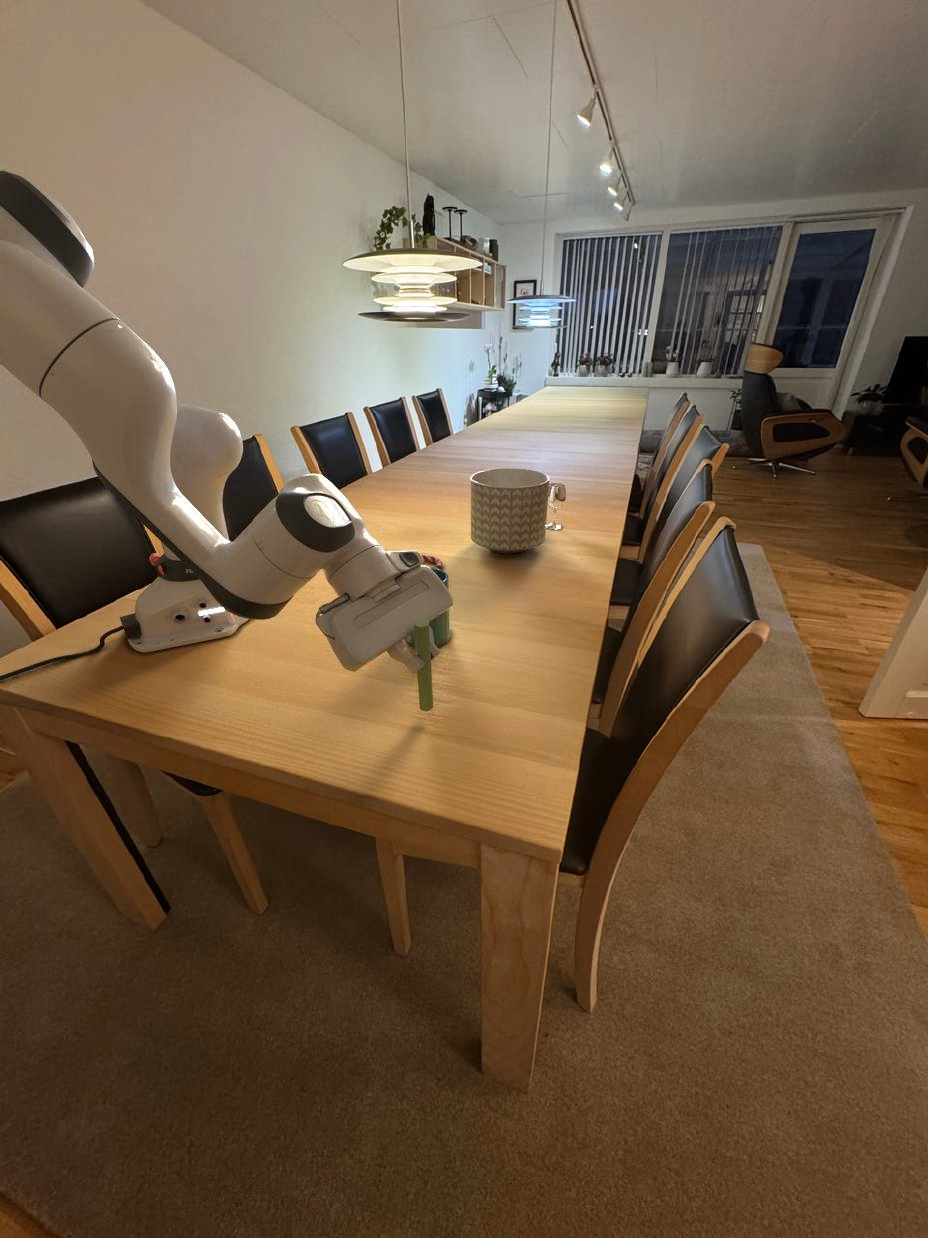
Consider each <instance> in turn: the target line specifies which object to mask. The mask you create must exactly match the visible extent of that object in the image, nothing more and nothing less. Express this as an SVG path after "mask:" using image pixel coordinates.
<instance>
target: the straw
mask: <svg viewBox="0 0 928 1238" xmlns="http://www.w3.org/2000/svg"><path fill="white" fill-rule="evenodd" d="M414 633H415V646H414V648H415V656H416V655H418V654H419V656H420V657H421V659H422V660H423V661H424V662H425V666H424V667H422V668H421V669H420V670H418V671H417V672H416V675H417V687H418V689H417V691H418V703H419V704H418V705H419V709H420V710H421V711H422V712H429V711H431V710H433V709H434V693H433V692H434V691H433V690H434V689H433V673H432V671H433V670H432V660H431V650H430V631H429V622H428V621H427V620H417V621H415V622H414Z"/></svg>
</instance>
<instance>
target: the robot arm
mask: <svg viewBox="0 0 928 1238" xmlns="http://www.w3.org/2000/svg"><path fill="white" fill-rule="evenodd" d="M94 259H95V258H94V253H93V248H92V247H91V245H90V244H89V242H88V241H87V239H86V237H85V235H84V234H83V232H82V230H81V228H80V227H79V226H78V224H77V223H76V221H75V219H74V218H73V217H72V216H71V215H70V214H69V212H68V211H67V210H66V209H65V208H64V207H63V206H62V205H61V204H60V203H59V202H58V201H57V200H55V198H53V197H52V196H51V195H49V194H48V193H47V192H45V191H44V190H42V189H41V188H39V187H38V186H36V185H34V184H32V183H31V182H30V181H29V180H27V179H26V178H25V177H23V176H21V175H19V174H15V173H13V172H9V171H6V170H0V366H2V367H3V368H4V369H6V370H7V372H9V373H10V374H11V375H13V377H15V378H16V379H17V380H18V381H19V382H20V383H22V384H23V385H24V386H25V387H26V388H28V390H30V391H31V392H32V393H34V395H36V396H37V397H38V398H39V399H41V400H42V401H43V402H45V403H46V404H47V405H49V406H50V407H51V408H52V409H53V410H54V411H55V412H56V413H57V414H59V416H60V417H61V418H62V419H63V420H64V421H65V422H66V423H67V424H68V425H69V427H70V428H71V429H72V430H73V432H74V433H75V434H76V435H77V436H78V438H79V440H80V441H81V442H82V444H83V445H84V447H85V449H86V451H87V452H88V454H89V456H90V458H91V462H92V467H93V470H94V472H95V474H96V476H97V478H98V479H99V481H101V483H102V484H103V485H104V486H105V488H106V489H107V490H108V491H109V492H110V493H111V494H112V495H113V496H114V497H115V498H116V499H117V500H118V501H119V502H120V504H121V505H123V506H124V507H125V509H127V510H128V512H130V513H131V514H132V516H134V517H135V518H136V519H137V520H138V521H139V522H140V523H141V524H142V525H143V526H144V527H145V528H146V529H148V530H149V531H150V533H152V534H153V535H154V537H156V538H157V539H158V541H160V543H161V547H162V550H163V554H162V555H161V554H159V553H157V552H154V553H151V554H150V555H149V557H148V558H149V562H150V564H151V565H152V566H153V567H155V570H156V573H157V575H158V576H157V577H156V578H155V579H154V580H153V581H152V582H151V583H150V584H149V585H148V586H147V587H146V588H145V589H144V590H143V591H142V592H141V593H140V594H139V595H138V597H137V598H136V601H135V607H134V613H130V614H126V615H122V616H119V620H120V623H121V625H120V626H118V627H115V628H113V629H110V630H108V631H106V632H105V633H103V634H102V635H101V636H100V638H99V644H98V645H97V646H96V647H95V648H92V649H90V650H88V651H84V652H80V653H71V654H66V655H59V656H55V657H52V658H48V659H44V660H42V661H38V662H36V663H33V664H30V665H28V666H24V667H21V668H19V669H16V670H13V671H10V672H7V673H5V674H1V675H0V681H4V680H6V679H9V678H12V677H15V676H17V675H20V674H23V673H26V672H29V671H32V670H34V669H38V668H40V667H43V666H47V665H50V664H52V663H55V662H60V661H64V660H65V661H66V660H70V659H76V658H80V657H83V656H87V655H90V654H94V653H96V652H99V651H101V650H102V649H103V648H104V647H105V645H106V642H105V641H106V639H107V638H108V637H109V636H111V635H114V634H116V633H119V632H121V631H124V633H125V636H126V639H127V641H128V644H129V646H130V647H131V648H132V649H133V650H135V651H137V652H140V653H143V654H145V653H151V652H156V651H157V652H158V651H161V650H165V649H170V648H175V647H181V646H186V645H191V644H197V643H200V642H205V641H206V642H207V641H210V640H216V639H222V638H226V637H231V636H232V635H233V634H235V633H236V631H237V630H238V628H239V627H241V626H243V624H245V623H246V622H248V621H250V620H255V621H263V620H264V621H265V620H270V619H272V618H275V617H277V616H278V615H279V614H280V612H282V610H283V609H284V608H285V607H286V606H287V604H289V603H290V601H291V600H292V599H293V598H294V597H295V595H296V594H297V593H298V592H299V591H300V590H301V589H302V588H303V587H304V586H306V585H307V584H308V583H309V582H310V581H311V580H312V579H314V577H316V576H317V574H318V573H319V572H320V571H321V570H322V572H323V574H324V577H325V579H326V581H327V583H328V584H329V585H330V587H331V588H332V589H333V591H334V592H335V593H336V595H337V597H336V598H334V599H332V600H331V601H329V602H326V603H323V604H322V605H320V606H319V607H318V610H317V612H316V614H315V624H316V626H317V628H318V629H319V630H320V632H321V633H322V635H324V637H326V639H327V642H328V643H329V646H330V648H331V650H332V651H333V653H334V655H335V657H336V658H337V660H338V661H339V663H340V664H341V666H342V668H344V669H345V670H347V671H350V672H352V673H355V672H357V671H359V670H360V669H361V668H363V667H364V666H366V665H368V664H369V663H371V662H372V661H373V660H375V659H376V658H378V657H379V656H381V655H382V654H384V653H385V652H387V654H388V655H389V656H390V658H391V659H393V660H395V661H397V662H399V663H401V664H403V665H405V666H406V667H407V669H408V670H409V671H410V672H411V674H415V673H416V674H417V671H418V670H420V669H421V668H422V667H424V666H425V662H424V661H423V660H422V659H421V657H420V656H419V654H418V655H416V654H415V655H413V654H412V653H410V652H408V651H406V650H405V648H406V645H405V643H404V642H403V641H404V640H405V639H406V637H408V636H409V635H411V634H412V633H414V622H415V621H417V620H427V621H428V622H430V621H432V620H433V619H435V618H436V617H438V616H439V615H441V614H442V613H444V612H445V611H446V610H448V609H449V610H450V609H451V607H452V606H453V605H454V601H453V596H452V593H451V592H450V589H449V590H448V589H447V588H446V586H445V585H444V583H443V582H442V581H441V580H440V578H439V577H438V576H437V575H436V573H435V572H434V571H433V570H432V569H431V568H429V567H430V566H427V565H424V564H423V563H424V562H425V560H424V558H423V557H422V555H423V554H421V553H420V551H418V550H415V549H413V550H386V549H384V547H383V545H382V544H381V543H380V542H379V541H377V540H376V539H375V538H374V537H373V536H372V535H371V534H370V533H369V530H368V529H367V526H366V523H365V521H364V519H363V518H362V516H361V515H360V514H359V512H358V511H357V510H356V508H355V507H354V506H353V505H352V504H351V502H350V501H349V500H348V499H347V497H345V495H344V494H343V493H342V492H341V491H340V490H339V489H338V488H337V487H336V486H335V485H334V484H333V483H332V482H331V481H330V480H328V479H327V477H325V476H324V475H321V474H317V473H307V474H303V475H300V476H297V477H295V478H293V479H291V480H289V481H288V482H287V483H286V484H285V485H284V486H282V488H281V489H280V491H279V493H278V495H277V496H276V497H273V499H271V500H270V501H269V502H268V504H266V506H265V507H264V508H263V509H261V511H260V512H259V513H257V515H256V516H255V517H254V518H253V520H252V521H251V523H249V524H248V525H247V527H246V528H244V530H242V531H241V533H240V534H239V535H238V536H237V537H236V538H235V539H234V540H233V541H231V540H230V538H229V533H228V528H227V524H226V519H225V514H224V507H223V505H224V504H223V496H224V490H225V485H226V482H227V480H228V478H229V476H230V475H231V474H232V473H233V471H235V469H237V467H238V466H239V464H240V462H241V460H242V458H243V453H244V441H243V438H242V434H241V432H240V429H239V428H238V426H237V424H236V423H235V422H234V420H233V419H232V418H231V417H230V416H229V415H227V414H225V413H223V412H219V411H216V410H213V409H209V408H205V407H202V406H197V405H178V402H177V393H176V388H175V384H174V381H173V378H172V376H171V373H170V371H169V369H168V367H167V366H166V364H165V363H164V362H163V360H162V359H161V358H160V357H159V355H158V354H157V353H156V352H155V351H154V350H153V348H151V346H150V345H148V344H147V343H146V341H144V340H143V339H142V338H141V337H140V336H139V335H138V334H137V333H136V332H135V331H134V330H132V329H131V328H130V327H129V326H128V325H127V324H126V323H125V322H123V321H122V320H121V319H120V318H119V317H118V316H117V315H116V314H114V313H113V312H112V311H111V310H110V309H109V308H108V307H107V306H105V305H104V304H103V303H102V302H101V301H99V300H98V299H97V298H96V297H95V296H94V295H92V294H91V293H90V292H89V291H88V290H86V289H85V287H86V284H87V283H88V281H89V279H90V278H91V275H92V274H93V271H94V269H95V260H94ZM422 564H423V565H422ZM429 631H430V650H431V661H433V660H434V659H435V658H437V657H438V656H440V655H441V651H440V649H439V648H438V647H436V645H435V644H434V638H433V632H432V628H431V627H430V626H429ZM414 634H415V633H414Z"/></svg>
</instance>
